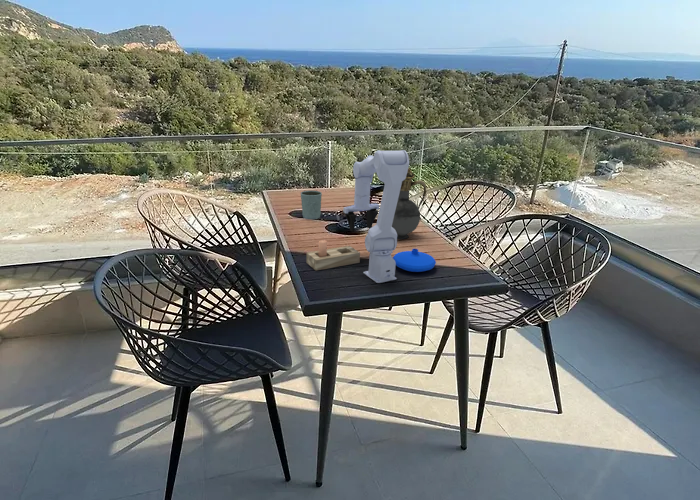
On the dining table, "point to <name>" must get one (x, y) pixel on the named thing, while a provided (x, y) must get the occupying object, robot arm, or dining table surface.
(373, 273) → the robot arm
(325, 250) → the peg
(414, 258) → the blue round knobbed lid
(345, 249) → the hole block
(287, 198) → the dining table surface
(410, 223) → the pitcher
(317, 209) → the green cup
